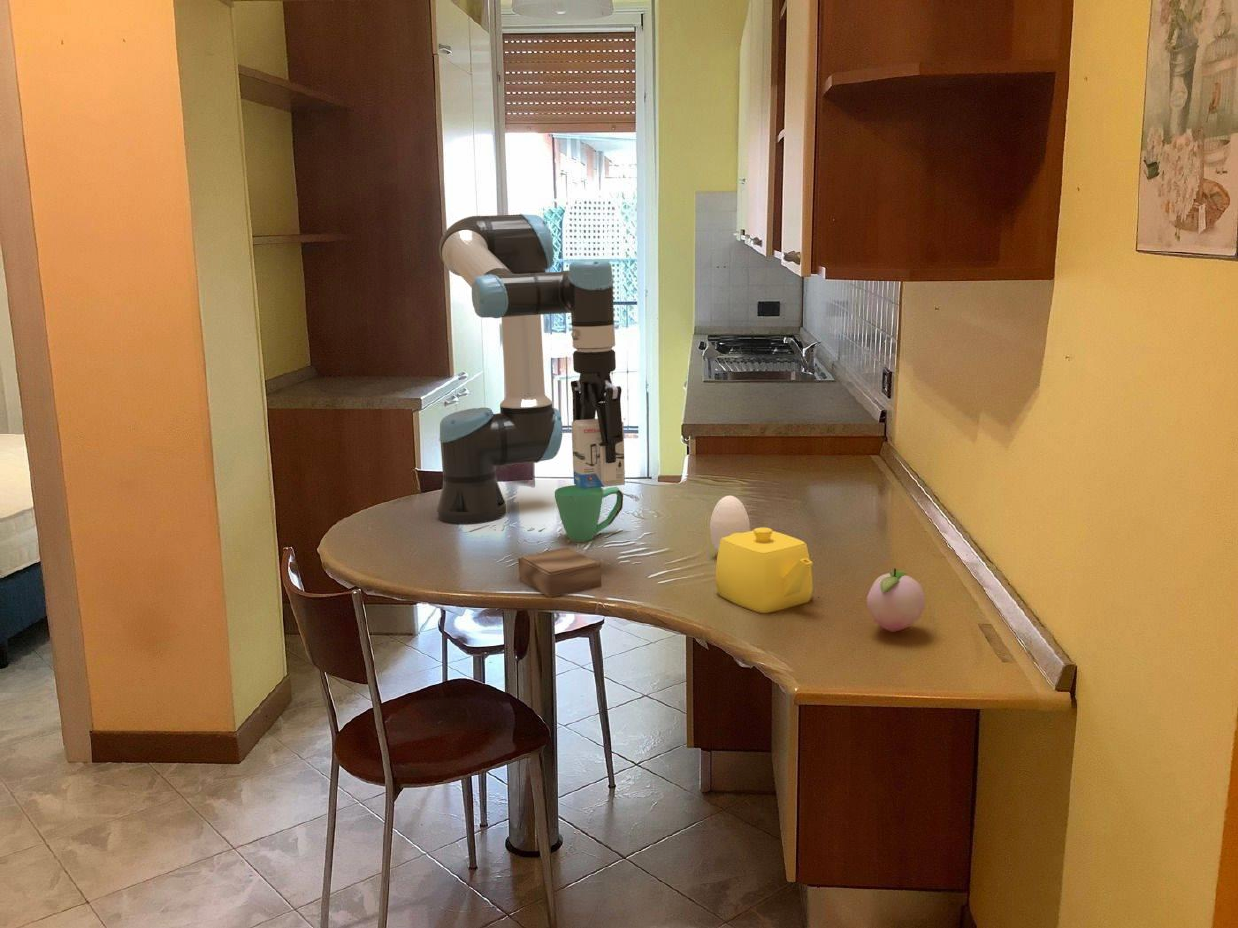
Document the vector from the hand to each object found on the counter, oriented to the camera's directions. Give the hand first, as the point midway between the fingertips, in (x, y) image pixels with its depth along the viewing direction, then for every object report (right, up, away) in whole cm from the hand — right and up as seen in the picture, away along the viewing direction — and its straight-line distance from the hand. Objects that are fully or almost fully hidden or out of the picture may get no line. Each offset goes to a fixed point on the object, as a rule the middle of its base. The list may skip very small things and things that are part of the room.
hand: (599, 476), depth 188 cm
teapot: (+28, -20, -16) cm, 38 cm away
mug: (-2, -13, +23) cm, 27 cm away
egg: (+25, -15, +7) cm, 30 cm away
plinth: (-7, -19, -5) cm, 20 cm away
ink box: (0, -2, 0) cm, 2 cm away
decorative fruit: (+45, -23, -33) cm, 60 cm away
